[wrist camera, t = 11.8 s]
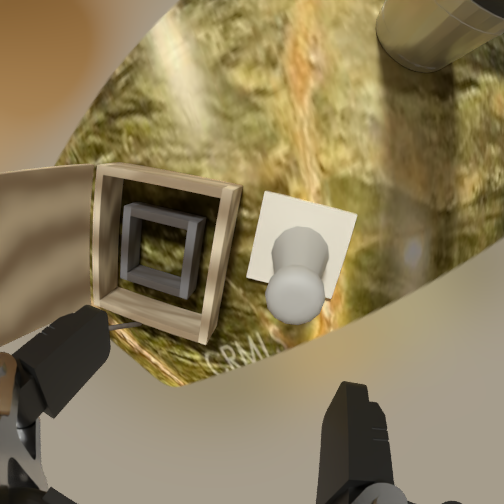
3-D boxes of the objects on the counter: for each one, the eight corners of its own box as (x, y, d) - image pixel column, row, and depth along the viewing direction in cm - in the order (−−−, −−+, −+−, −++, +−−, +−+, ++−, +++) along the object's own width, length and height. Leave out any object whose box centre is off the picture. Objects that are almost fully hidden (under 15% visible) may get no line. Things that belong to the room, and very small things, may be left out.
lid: (94, 164, 30) (88, 163, 30) (-46, 182, 15) (-48, 180, 15) (91, 304, 36) (86, 301, 36) (-15, 354, 21) (-19, 348, 22)
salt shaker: (337, 255, 32) (351, 315, 20) (293, 282, 34) (283, 350, 22) (308, 210, 32) (307, 247, 19) (263, 239, 33) (236, 290, 21)
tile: (265, 190, 32) (264, 191, 32) (356, 213, 31) (357, 214, 31) (247, 275, 36) (246, 277, 35) (330, 296, 35) (331, 298, 34)
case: (105, 160, 34) (23, 172, 22) (243, 185, 33) (198, 207, 20) (99, 292, 41) (38, 339, 28) (215, 332, 39) (176, 405, 26)
